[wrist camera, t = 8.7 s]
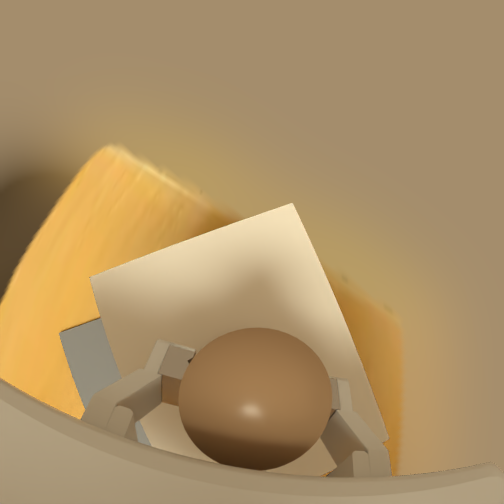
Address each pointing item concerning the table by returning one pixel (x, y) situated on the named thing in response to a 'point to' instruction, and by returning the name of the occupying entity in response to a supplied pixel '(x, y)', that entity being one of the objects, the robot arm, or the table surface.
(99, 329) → the slate mat
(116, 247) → the table surface
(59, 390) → the table surface
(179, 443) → the lid
